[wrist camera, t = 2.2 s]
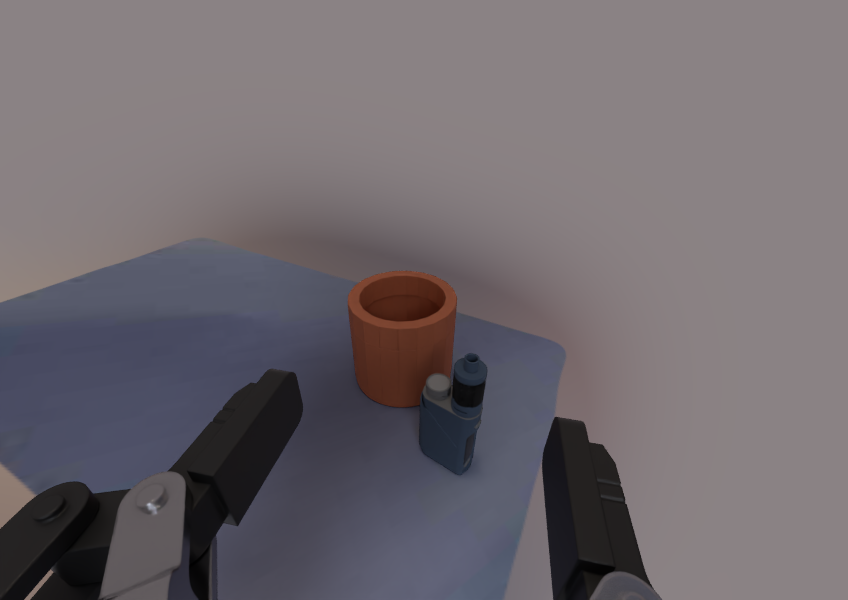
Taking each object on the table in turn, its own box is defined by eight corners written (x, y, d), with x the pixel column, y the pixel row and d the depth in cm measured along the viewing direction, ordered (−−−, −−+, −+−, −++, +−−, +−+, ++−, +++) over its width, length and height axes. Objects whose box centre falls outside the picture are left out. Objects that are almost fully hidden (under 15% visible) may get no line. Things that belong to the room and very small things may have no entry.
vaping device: (464, 481, 30) (479, 376, 24) (413, 448, 33) (414, 345, 26) (479, 459, 32) (496, 355, 26) (429, 429, 34) (434, 328, 28)
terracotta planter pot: (455, 347, 45) (461, 276, 39) (443, 415, 36) (448, 335, 31) (373, 336, 46) (368, 266, 41) (341, 398, 37) (330, 319, 32)
